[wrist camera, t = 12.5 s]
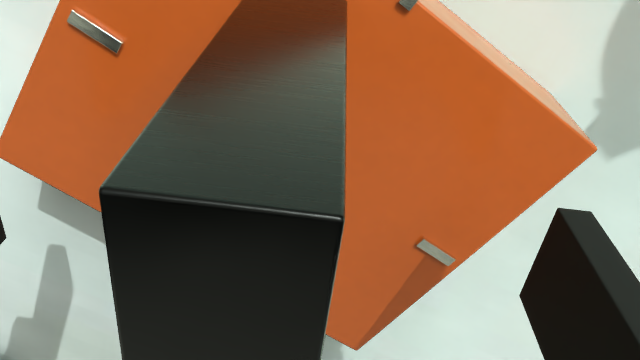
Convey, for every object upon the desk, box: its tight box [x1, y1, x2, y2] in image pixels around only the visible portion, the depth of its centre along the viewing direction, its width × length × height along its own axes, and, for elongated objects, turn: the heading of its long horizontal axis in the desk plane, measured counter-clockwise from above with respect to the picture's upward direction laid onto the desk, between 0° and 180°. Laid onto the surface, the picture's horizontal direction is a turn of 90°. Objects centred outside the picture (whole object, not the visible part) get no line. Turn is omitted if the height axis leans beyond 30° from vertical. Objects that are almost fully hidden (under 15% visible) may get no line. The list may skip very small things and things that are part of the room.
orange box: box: [0, 0, 597, 351], centre depth 17 cm, size 14×13×4 cm
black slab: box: [99, 0, 347, 360], centre depth 11 cm, size 9×2×9 cm, turn 173°
